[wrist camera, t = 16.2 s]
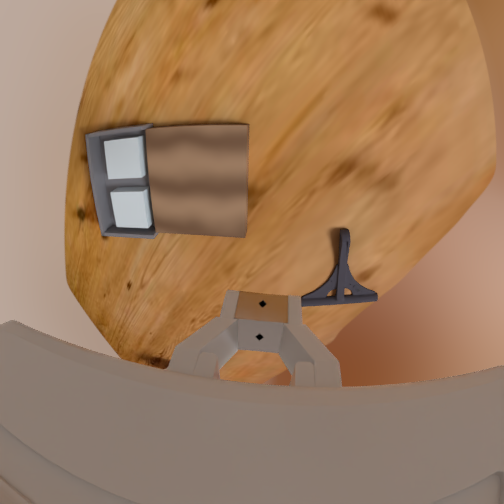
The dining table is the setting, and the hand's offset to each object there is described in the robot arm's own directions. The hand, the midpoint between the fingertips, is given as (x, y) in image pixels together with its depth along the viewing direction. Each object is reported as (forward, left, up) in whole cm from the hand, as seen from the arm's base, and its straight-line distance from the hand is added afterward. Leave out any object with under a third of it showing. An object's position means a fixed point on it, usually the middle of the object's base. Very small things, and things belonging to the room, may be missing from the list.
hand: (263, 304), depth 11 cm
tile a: (-1, -22, -28) cm, 36 cm away
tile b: (+7, -22, -28) cm, 37 cm away
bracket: (+17, +12, -30) cm, 36 cm away
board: (+3, -11, -29) cm, 31 cm away
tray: (+3, -23, -29) cm, 37 cm away
